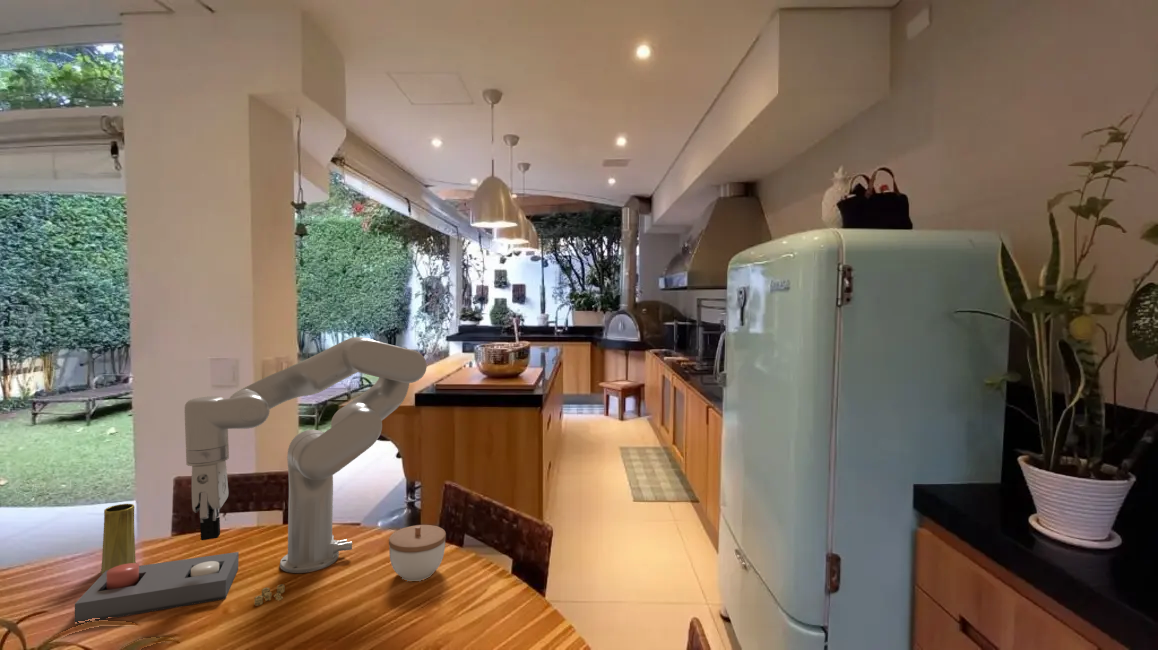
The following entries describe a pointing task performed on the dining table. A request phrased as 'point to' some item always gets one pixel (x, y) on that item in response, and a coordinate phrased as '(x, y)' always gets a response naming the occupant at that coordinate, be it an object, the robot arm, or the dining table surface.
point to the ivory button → (205, 568)
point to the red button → (123, 576)
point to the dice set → (270, 594)
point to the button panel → (159, 589)
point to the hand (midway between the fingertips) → (210, 537)
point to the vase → (118, 536)
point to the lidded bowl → (417, 551)
